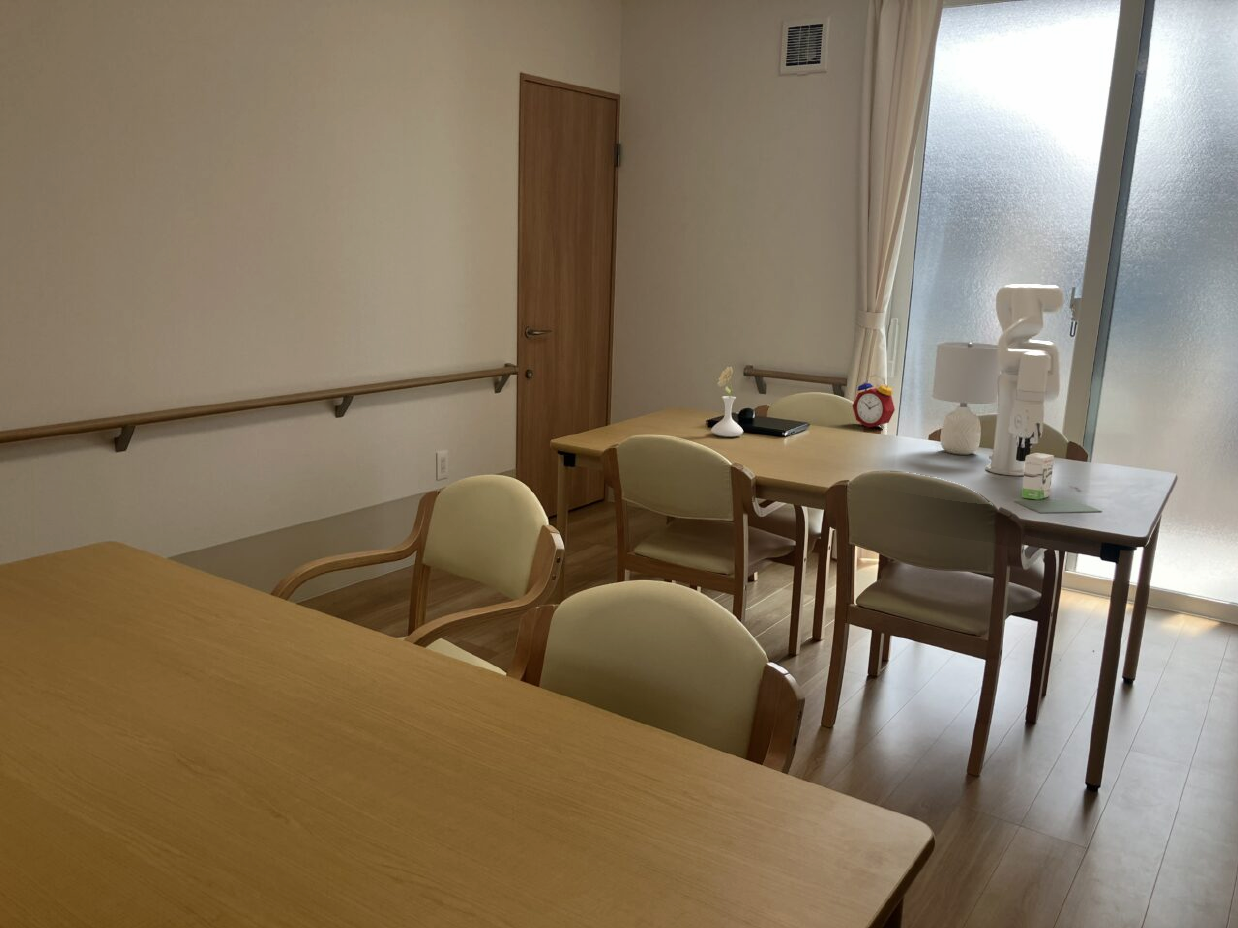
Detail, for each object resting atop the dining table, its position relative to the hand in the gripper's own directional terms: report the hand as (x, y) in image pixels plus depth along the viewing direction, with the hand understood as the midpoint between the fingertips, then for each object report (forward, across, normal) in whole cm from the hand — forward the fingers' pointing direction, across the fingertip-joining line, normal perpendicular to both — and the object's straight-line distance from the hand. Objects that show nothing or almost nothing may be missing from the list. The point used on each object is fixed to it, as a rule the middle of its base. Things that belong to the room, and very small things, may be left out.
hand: (1022, 460), depth 282 cm
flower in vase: (+9, -82, -63) cm, 104 cm away
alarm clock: (+9, -99, 0) cm, 99 cm away
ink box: (+9, +8, 0) cm, 12 cm away
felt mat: (+9, +18, 0) cm, 20 cm away
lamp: (+9, -51, +9) cm, 52 cm away
